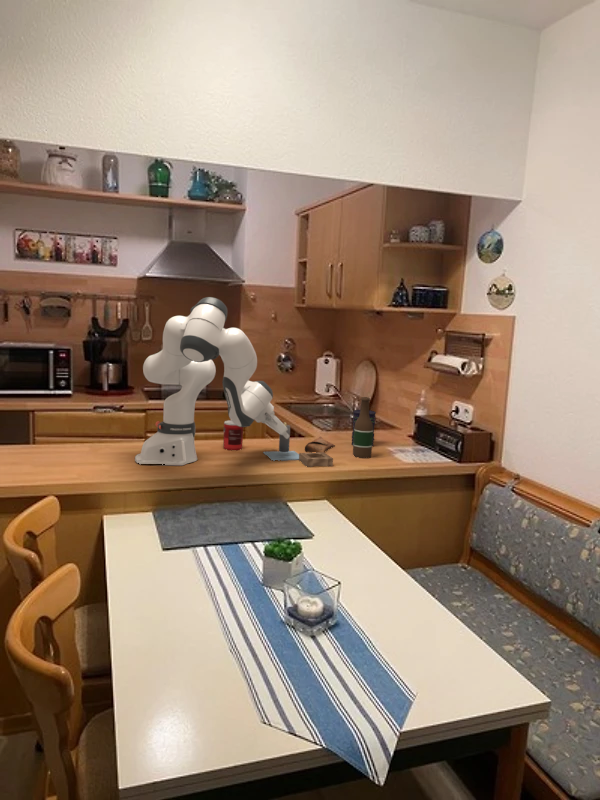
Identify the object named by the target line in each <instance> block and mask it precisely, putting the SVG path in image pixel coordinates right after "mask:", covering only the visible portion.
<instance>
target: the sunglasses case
mask: <svg viewBox="0 0 600 800" xmlns="http://www.w3.org/2000/svg"><path fill="white" fill-rule="evenodd" d="M333 446H334V447H336V445H335V444H333V443H332V442H329V441H327V440H326V439H324V438H323V437H322V436H319V437H318V438H316V439H314V440H312V441H310V442H308V443H306V445H305V447H304V451H305V453H312V452H316V453H318V452H325V451H326V452H327V451H329V450H330V449H332V448H334V447H333ZM331 447H332V448H331ZM328 449H329V450H328ZM326 452H325V453H326Z"/></svg>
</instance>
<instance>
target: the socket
mask: <svg viewBox="0 0 600 800" xmlns="http://www.w3.org/2000/svg"><path fill="white" fill-rule="evenodd" d="M298 454H299V460H298V461H299V462H300V461H301V462H302V463H301V462H300V463H301V464H303V466H305V467H306V466H307V467H306V468H314V467H313V466H328V467H333V464H334V458H333V456H332V457H331V456H330V455H329V454H327V453H326V452H325V453H324V452H318V453H312V452H299V453H298Z"/></svg>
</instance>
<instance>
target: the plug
mask: <svg viewBox="0 0 600 800" xmlns="http://www.w3.org/2000/svg"><path fill="white" fill-rule="evenodd" d="M283 424H284V425H285V426H286V427H287V429H288V430H287V431H286V432H287V433H288V434H289V436H291V425H290V424H287V422H286V421H284V422H283ZM290 438H291V437H289V438H288V439H286V438H285V437H284V436H283V435H280V434H279V439H278V441H279V442H278V451H280V452H289V451H290V440H291V439H290Z"/></svg>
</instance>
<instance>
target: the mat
mask: <svg viewBox="0 0 600 800" xmlns="http://www.w3.org/2000/svg"><path fill="white" fill-rule="evenodd" d="M262 453H263V454H264V455H265V456H266V455H267V456H268V457H269V458H270V459H271V461H272V460H273V461H272V462H275V460H278V462H279V461H280V460H281V461H299V453H298V452H297V451H295V450H289V452H280V451H279V450H276V451H275V450H274V451H263V452H262ZM267 456H266V457H267ZM268 457H267V458H268ZM269 458H268V459H269Z"/></svg>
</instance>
